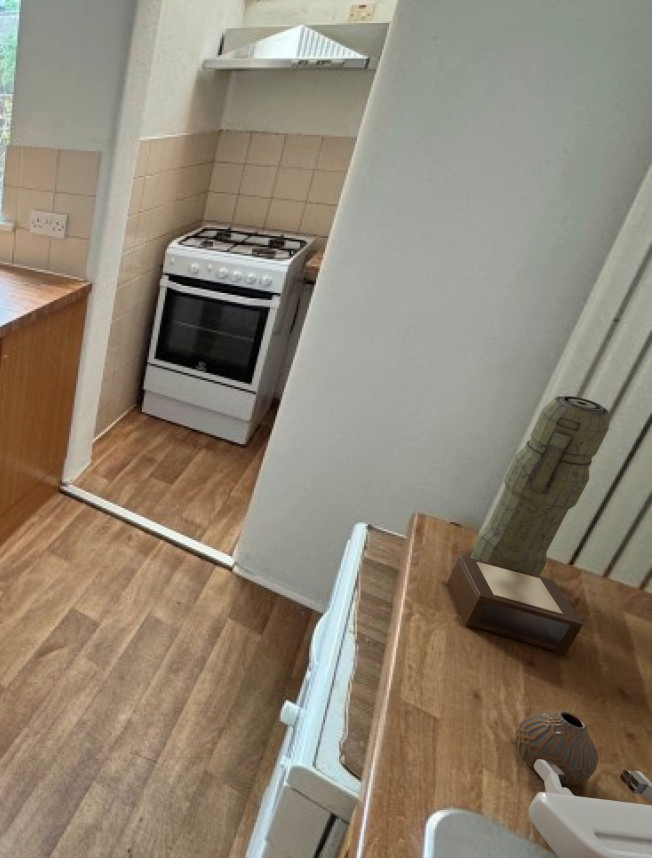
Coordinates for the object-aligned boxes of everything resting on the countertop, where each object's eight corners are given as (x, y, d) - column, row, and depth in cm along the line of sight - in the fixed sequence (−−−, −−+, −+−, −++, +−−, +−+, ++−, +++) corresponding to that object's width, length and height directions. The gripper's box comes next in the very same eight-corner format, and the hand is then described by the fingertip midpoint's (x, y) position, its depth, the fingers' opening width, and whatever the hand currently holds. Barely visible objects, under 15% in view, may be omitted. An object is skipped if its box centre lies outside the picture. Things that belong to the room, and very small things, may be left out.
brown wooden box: (535, 611, 101) (553, 578, 98) (563, 658, 92) (584, 623, 90) (445, 585, 106) (460, 553, 103) (464, 628, 97) (480, 594, 95)
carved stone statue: (461, 573, 108) (539, 403, 96) (473, 544, 116) (547, 382, 103) (529, 603, 102) (622, 426, 89) (537, 570, 109) (624, 402, 97)
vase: (509, 728, 82) (535, 683, 79) (582, 768, 77) (613, 721, 74) (504, 764, 77) (532, 717, 74) (582, 808, 73) (614, 760, 69)
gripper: (854, 911, 57) (694, 762, 70) (616, 879, 59) (503, 740, 72) (816, 947, 60) (668, 796, 72) (589, 915, 62) (484, 773, 75)
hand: (584, 767), depth 72 cm, fingers open, 8 cm apart
